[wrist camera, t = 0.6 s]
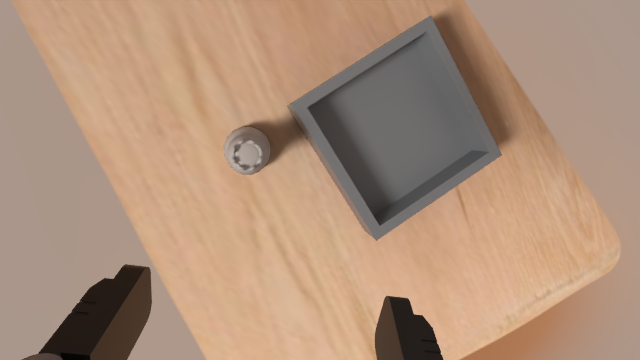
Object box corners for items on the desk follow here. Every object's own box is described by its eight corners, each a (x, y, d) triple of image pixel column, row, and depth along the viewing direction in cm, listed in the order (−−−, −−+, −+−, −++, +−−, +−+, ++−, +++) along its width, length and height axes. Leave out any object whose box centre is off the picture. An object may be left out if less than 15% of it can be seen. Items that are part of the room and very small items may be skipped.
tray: (286, 106, 38) (291, 103, 34) (412, 26, 39) (430, 15, 35) (364, 229, 41) (376, 240, 37) (478, 152, 42) (501, 155, 38)
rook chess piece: (229, 177, 38) (224, 189, 30) (219, 131, 37) (211, 132, 30) (274, 167, 39) (281, 177, 31) (265, 122, 38) (269, 120, 30)
